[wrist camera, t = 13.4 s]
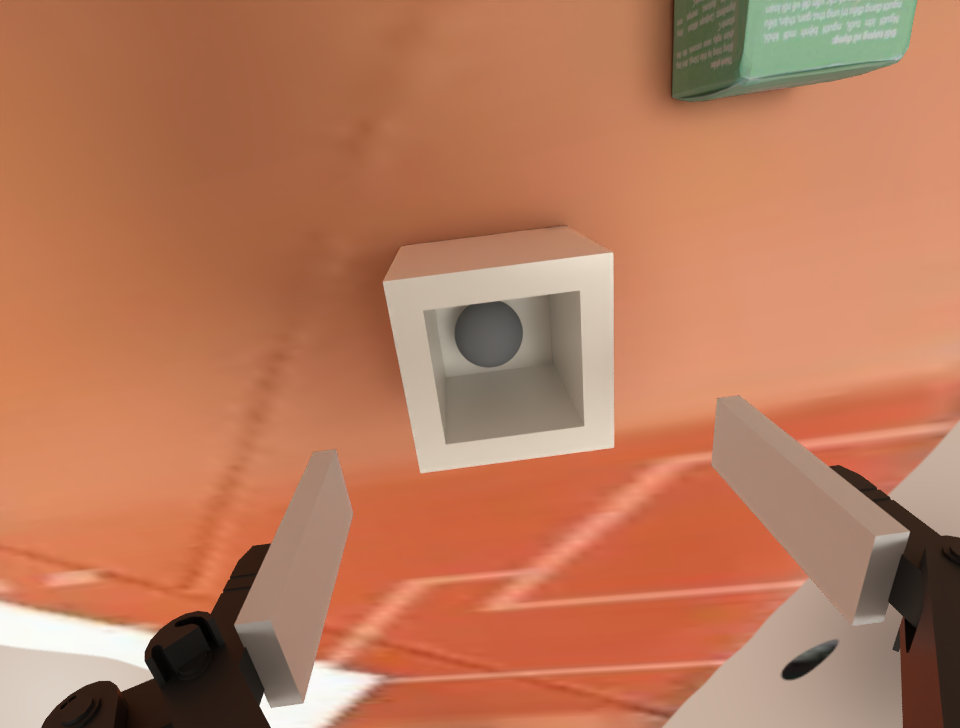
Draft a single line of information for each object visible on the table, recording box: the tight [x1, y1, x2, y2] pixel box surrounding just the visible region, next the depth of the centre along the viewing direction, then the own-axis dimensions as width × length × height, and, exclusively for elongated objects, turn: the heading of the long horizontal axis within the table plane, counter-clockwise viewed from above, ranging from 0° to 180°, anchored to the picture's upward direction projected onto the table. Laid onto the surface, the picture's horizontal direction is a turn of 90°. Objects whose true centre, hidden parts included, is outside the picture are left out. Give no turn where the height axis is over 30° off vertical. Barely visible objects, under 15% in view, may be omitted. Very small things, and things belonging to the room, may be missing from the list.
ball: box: [455, 301, 523, 368], centre depth 28 cm, size 4×4×4 cm
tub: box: [383, 225, 614, 473], centre depth 27 cm, size 10×10×9 cm
